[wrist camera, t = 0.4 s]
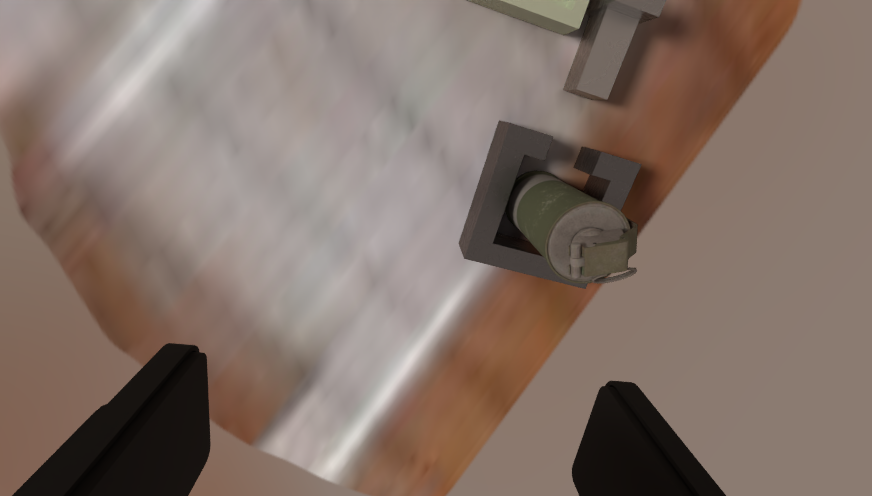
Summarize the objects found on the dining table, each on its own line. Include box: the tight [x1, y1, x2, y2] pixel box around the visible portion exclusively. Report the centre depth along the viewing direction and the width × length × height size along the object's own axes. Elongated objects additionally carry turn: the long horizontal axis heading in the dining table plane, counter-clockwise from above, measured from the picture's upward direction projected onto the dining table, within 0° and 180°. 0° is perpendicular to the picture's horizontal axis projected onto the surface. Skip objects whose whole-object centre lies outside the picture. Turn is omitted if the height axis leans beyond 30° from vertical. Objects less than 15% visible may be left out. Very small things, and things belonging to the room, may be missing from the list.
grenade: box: [505, 171, 638, 284], centre depth 32 cm, size 6×6×15 cm
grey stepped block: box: [563, 0, 666, 100], centre depth 32 cm, size 8×4×5 cm, turn 164°
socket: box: [459, 121, 642, 289], centre depth 37 cm, size 12×12×4 cm
